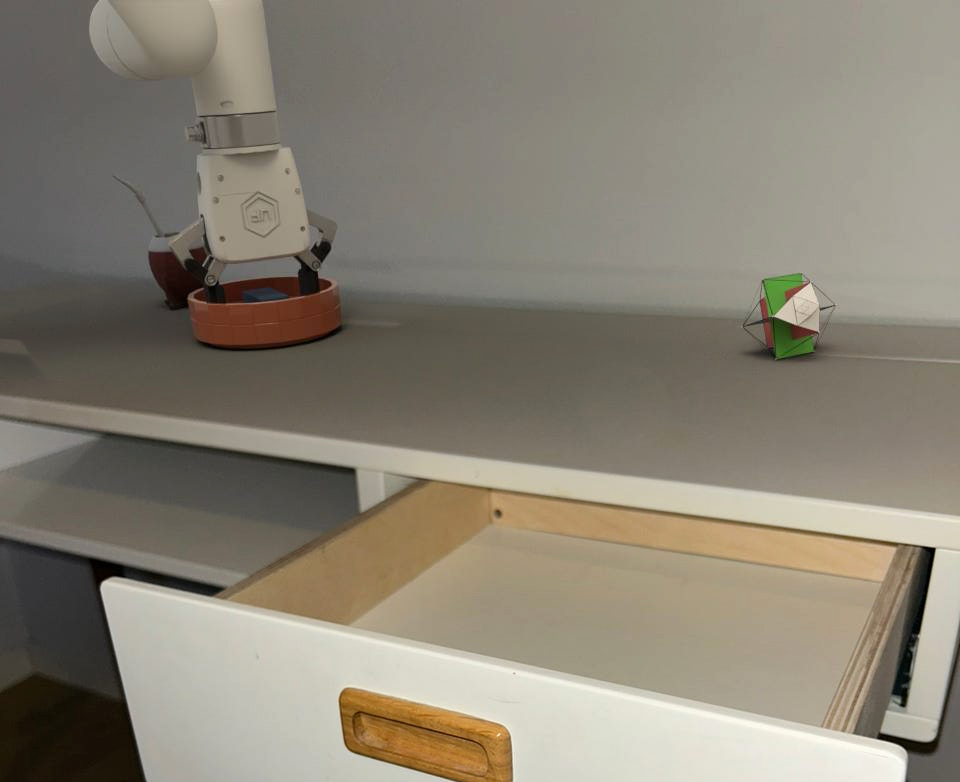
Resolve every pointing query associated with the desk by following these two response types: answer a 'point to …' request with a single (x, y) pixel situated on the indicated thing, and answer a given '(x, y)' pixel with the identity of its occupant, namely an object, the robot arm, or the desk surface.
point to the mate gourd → (170, 261)
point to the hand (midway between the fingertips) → (267, 316)
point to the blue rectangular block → (263, 295)
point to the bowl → (265, 314)
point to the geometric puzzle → (789, 315)
